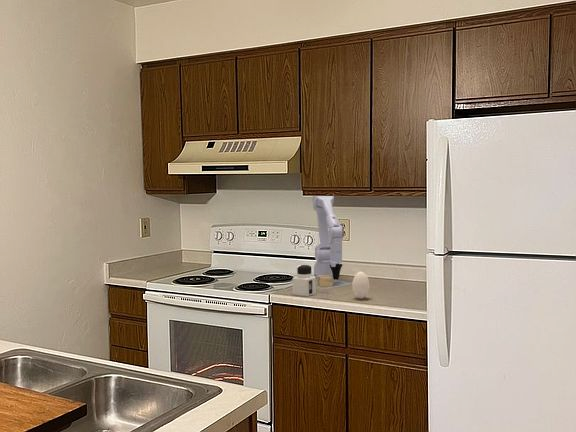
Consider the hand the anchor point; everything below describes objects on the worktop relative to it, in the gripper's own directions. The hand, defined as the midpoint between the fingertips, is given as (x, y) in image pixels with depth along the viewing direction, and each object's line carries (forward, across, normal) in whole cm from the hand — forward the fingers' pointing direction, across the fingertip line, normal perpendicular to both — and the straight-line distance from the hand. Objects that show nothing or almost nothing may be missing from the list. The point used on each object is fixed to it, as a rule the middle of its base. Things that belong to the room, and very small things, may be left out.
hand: (336, 279), depth 292 cm
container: (+3, +24, -10) cm, 26 cm away
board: (+3, +3, -2) cm, 5 cm away
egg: (+3, +28, +16) cm, 33 cm away
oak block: (+2, +5, -4) cm, 7 cm away
